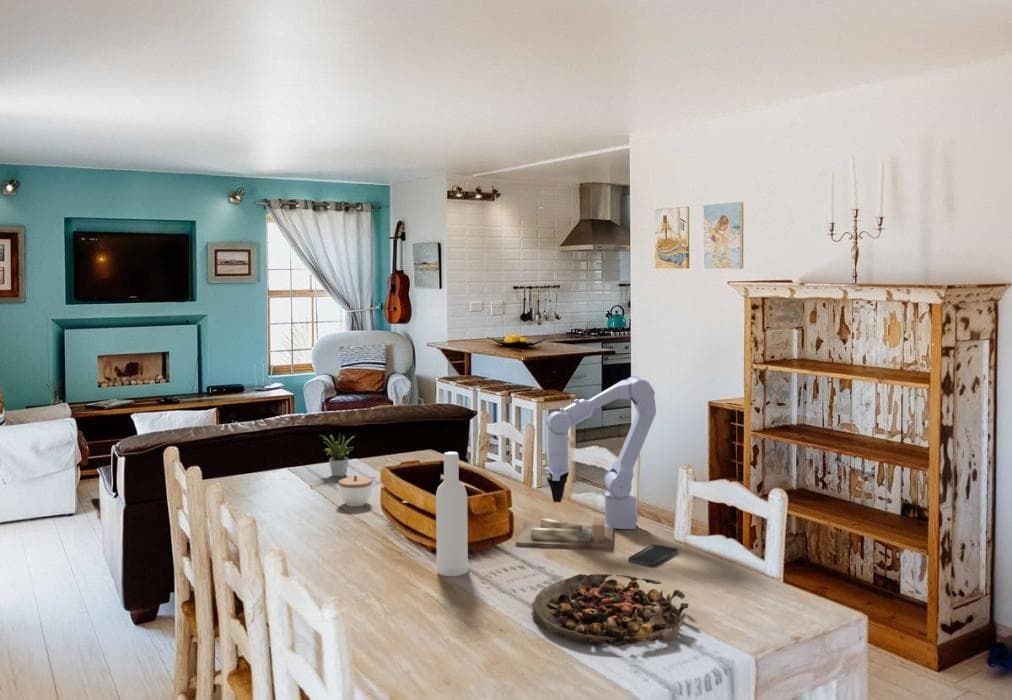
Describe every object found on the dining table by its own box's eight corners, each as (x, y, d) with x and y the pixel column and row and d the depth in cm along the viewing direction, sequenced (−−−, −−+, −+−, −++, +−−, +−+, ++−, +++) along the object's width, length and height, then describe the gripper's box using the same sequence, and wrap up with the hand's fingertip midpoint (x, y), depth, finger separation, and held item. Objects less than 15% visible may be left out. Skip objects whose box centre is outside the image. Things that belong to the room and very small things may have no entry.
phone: (626, 558, 221) (653, 543, 233) (626, 563, 221) (653, 547, 233) (654, 564, 217) (680, 549, 229) (654, 569, 217) (680, 553, 229)
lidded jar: (379, 502, 280) (379, 474, 279) (357, 510, 271) (356, 481, 270) (354, 498, 285) (354, 470, 284) (332, 505, 276) (331, 476, 275)
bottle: (429, 571, 214) (428, 453, 212) (452, 563, 220) (451, 448, 217) (451, 579, 209) (450, 457, 206) (474, 571, 215) (473, 452, 212)
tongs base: (613, 530, 248) (613, 518, 248) (611, 550, 230) (611, 536, 230) (523, 526, 252) (523, 514, 252) (515, 546, 234) (515, 533, 234)
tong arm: (582, 534, 241) (582, 525, 240) (578, 535, 239) (578, 527, 239) (544, 525, 249) (544, 517, 248) (540, 527, 247) (540, 519, 247)
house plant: (309, 479, 312) (308, 434, 310) (324, 470, 325) (323, 428, 324) (347, 480, 309) (346, 435, 308) (360, 472, 323) (359, 429, 321)
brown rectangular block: (604, 534, 240) (604, 518, 239) (603, 541, 233) (604, 525, 233) (593, 534, 240) (593, 518, 240) (592, 541, 234) (592, 524, 233)
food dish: (721, 630, 182) (722, 594, 181) (603, 675, 163) (604, 636, 162) (609, 577, 210) (609, 547, 209) (498, 611, 191) (498, 577, 190)
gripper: (546, 448, 257) (546, 492, 258) (541, 458, 242) (541, 505, 244) (570, 448, 256) (570, 493, 257) (566, 459, 241) (566, 506, 243)
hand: (558, 499), depth 250 cm, fingers open, 5 cm apart
